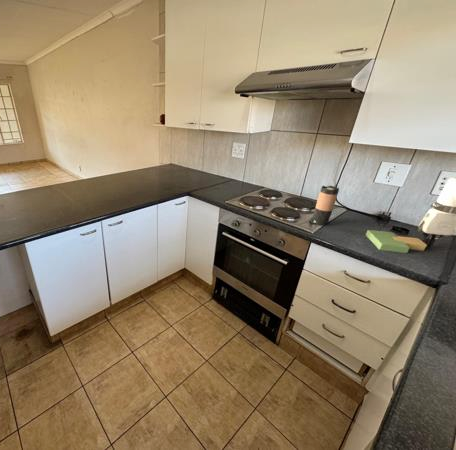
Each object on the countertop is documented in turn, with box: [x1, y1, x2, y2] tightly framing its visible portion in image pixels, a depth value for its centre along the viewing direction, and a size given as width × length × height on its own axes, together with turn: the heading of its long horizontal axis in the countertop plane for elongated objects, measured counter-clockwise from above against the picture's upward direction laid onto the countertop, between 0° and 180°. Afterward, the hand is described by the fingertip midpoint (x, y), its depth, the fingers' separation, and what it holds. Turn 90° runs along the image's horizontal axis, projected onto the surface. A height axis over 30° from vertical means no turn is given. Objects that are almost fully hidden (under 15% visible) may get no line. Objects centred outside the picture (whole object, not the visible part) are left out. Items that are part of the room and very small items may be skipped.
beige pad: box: [392, 235, 427, 252], centre depth 111 cm, size 11×6×3 cm, turn 73°
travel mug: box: [312, 185, 340, 227], centre depth 129 cm, size 8×8×20 cm
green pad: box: [365, 229, 410, 254], centre depth 113 cm, size 10×14×3 cm
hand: (425, 245), depth 109 cm, fingers closed
